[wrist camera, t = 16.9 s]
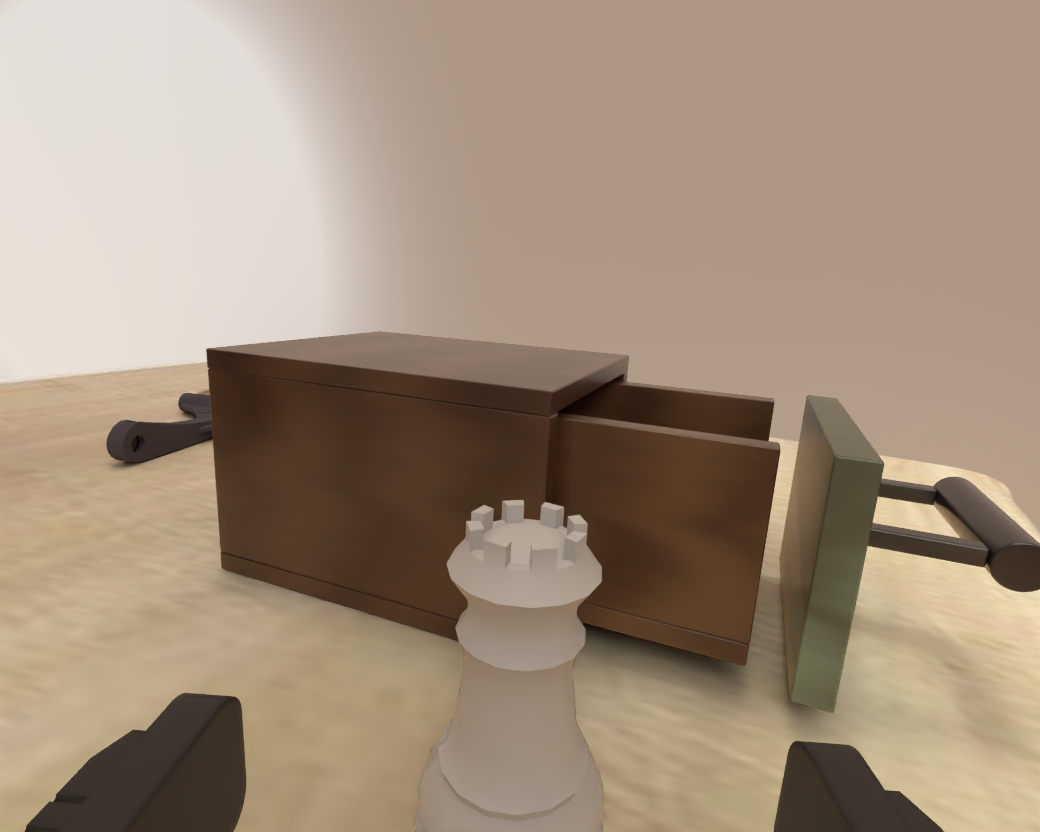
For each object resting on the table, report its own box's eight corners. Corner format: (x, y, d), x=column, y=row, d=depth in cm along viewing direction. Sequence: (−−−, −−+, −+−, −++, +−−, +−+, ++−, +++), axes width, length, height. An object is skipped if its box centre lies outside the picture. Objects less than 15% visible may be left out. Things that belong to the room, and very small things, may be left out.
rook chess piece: (400, 941, 11) (403, 573, 10) (423, 759, 16) (428, 482, 14) (622, 935, 12) (666, 579, 10) (585, 758, 16) (610, 488, 14)
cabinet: (611, 536, 31) (629, 355, 28) (534, 664, 20) (552, 391, 18) (379, 487, 36) (379, 331, 34) (221, 568, 25) (205, 348, 23)
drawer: (935, 591, 25) (977, 413, 23) (1042, 773, 15) (1128, 496, 14) (532, 509, 31) (541, 366, 30) (434, 601, 22) (438, 399, 20)
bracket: (25, 454, 38) (19, 413, 38) (192, 409, 52) (190, 379, 52) (216, 482, 36) (214, 438, 35) (339, 426, 50) (338, 394, 49)
